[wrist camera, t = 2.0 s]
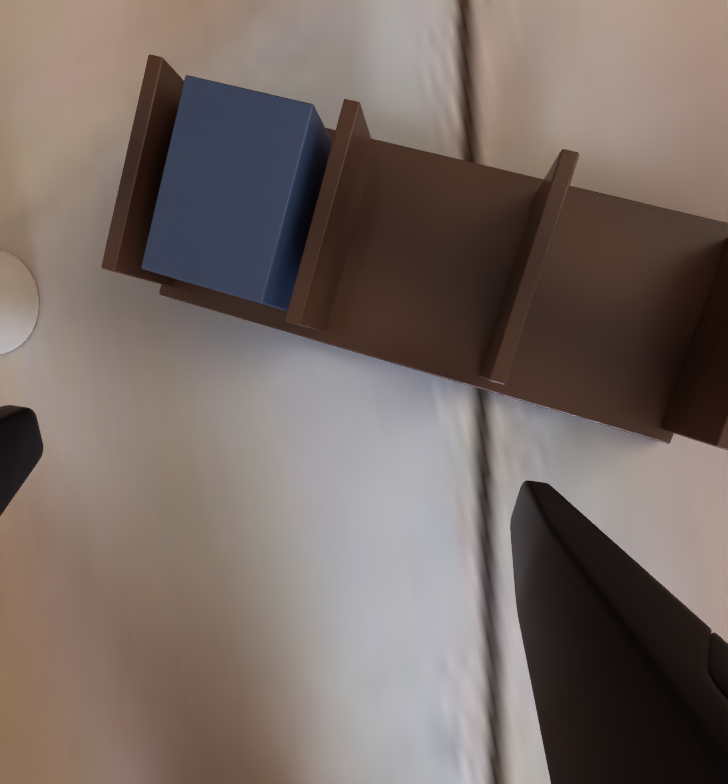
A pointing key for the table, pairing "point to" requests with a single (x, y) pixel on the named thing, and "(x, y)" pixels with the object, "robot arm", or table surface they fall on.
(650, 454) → the table surface
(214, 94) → the slate box
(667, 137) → the table surface
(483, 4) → the table surface
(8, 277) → the paper towel roll
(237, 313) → the rack
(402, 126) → the table surface
